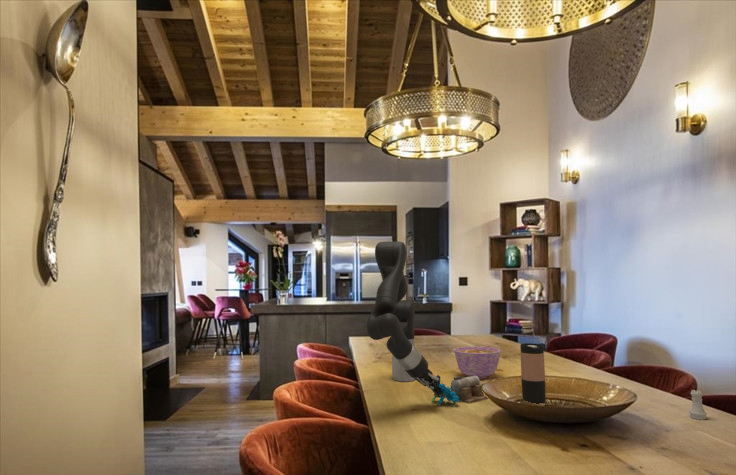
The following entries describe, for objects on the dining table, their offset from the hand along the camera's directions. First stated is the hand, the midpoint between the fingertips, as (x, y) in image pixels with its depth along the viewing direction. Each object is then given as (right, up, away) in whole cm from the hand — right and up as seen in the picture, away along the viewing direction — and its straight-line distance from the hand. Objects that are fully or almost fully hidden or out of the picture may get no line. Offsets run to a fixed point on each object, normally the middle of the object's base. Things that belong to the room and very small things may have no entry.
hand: (439, 392), depth 161 cm
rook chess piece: (+76, -2, -18) cm, 78 cm away
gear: (+2, -4, +1) cm, 5 cm away
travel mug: (+32, -4, -2) cm, 32 cm away
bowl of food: (+23, -8, +44) cm, 50 cm away
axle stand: (+11, -5, +8) cm, 14 cm away
